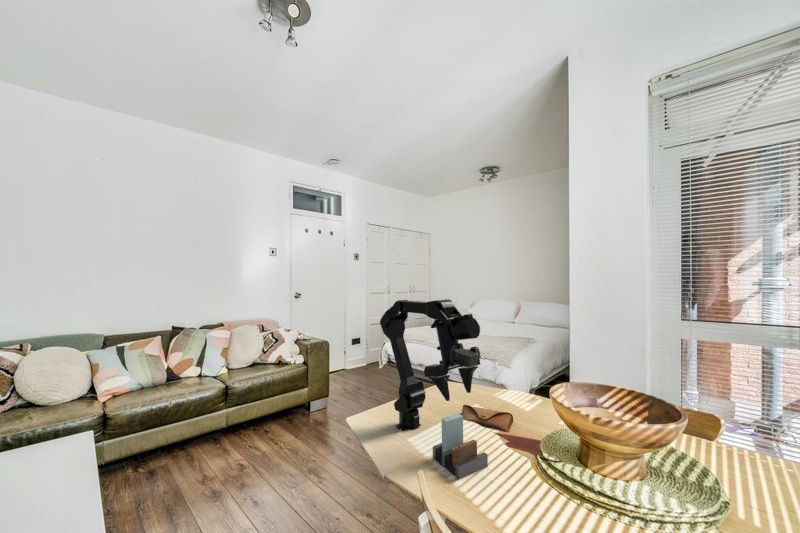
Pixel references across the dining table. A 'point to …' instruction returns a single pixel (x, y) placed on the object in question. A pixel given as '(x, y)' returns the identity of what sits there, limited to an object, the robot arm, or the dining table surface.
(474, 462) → the rack
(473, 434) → the dining table surface
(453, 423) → the tall sheet
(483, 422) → the sunglasses case
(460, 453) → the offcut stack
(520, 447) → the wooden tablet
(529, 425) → the dining table surface
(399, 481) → the dining table surface
